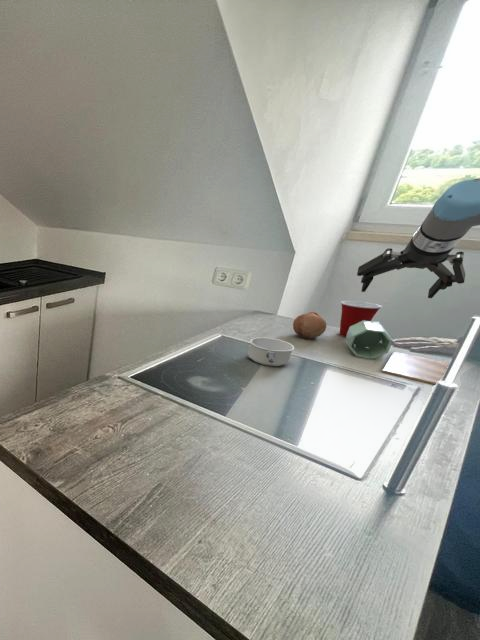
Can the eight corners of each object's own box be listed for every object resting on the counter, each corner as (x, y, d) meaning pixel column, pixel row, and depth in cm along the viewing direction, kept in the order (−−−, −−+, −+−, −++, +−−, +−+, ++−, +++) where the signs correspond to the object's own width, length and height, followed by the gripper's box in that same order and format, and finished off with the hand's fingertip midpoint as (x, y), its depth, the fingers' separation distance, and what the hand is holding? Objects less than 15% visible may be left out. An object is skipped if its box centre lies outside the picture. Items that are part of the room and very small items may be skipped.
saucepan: (243, 373, 113) (247, 356, 111) (246, 350, 128) (250, 335, 126) (290, 382, 107) (296, 364, 105) (288, 357, 123) (293, 341, 120)
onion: (301, 341, 143) (309, 315, 142) (328, 343, 134) (337, 315, 133) (282, 334, 140) (291, 307, 140) (309, 336, 131) (318, 307, 131)
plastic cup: (366, 333, 140) (378, 301, 135) (372, 342, 132) (385, 308, 127) (328, 328, 146) (339, 297, 141) (332, 337, 137) (343, 304, 133)
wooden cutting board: (441, 386, 104) (442, 384, 103) (381, 371, 112) (382, 370, 112) (448, 364, 115) (449, 362, 115) (393, 353, 124) (394, 351, 123)
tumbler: (384, 361, 119) (396, 332, 115) (345, 354, 124) (355, 327, 120) (379, 350, 126) (390, 323, 122) (342, 345, 131) (352, 319, 127)
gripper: (360, 250, 96) (336, 296, 113) (513, 258, 83) (459, 308, 100) (365, 226, 98) (340, 275, 115) (516, 230, 85) (462, 284, 102)
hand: (395, 290), depth 108 cm, fingers open, 13 cm apart
